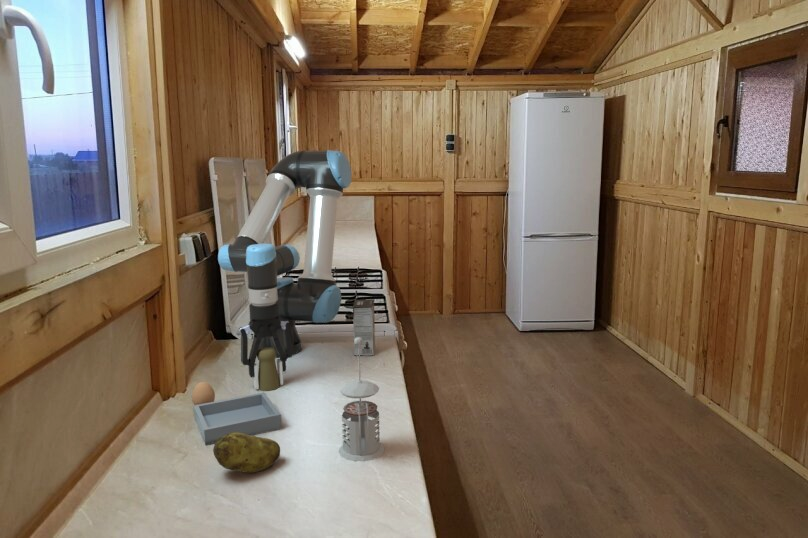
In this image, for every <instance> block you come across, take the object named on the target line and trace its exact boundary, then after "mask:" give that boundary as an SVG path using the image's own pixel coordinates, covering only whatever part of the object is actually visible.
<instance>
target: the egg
mask: <svg viewBox="0 0 808 538" xmlns="http://www.w3.org/2000/svg"><path fill="white" fill-rule="evenodd" d="M215 399H216V394H215V390H214V388H213V386H212V385H211V384H210V383H208V382H207V381H201V382H198V383H196V385H195V386H194V388H193V389H192V393H191V401H192V404H193V406H194V405H199V404H205V403H210V402H215Z"/></svg>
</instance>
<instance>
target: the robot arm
mask: <svg viewBox="0 0 808 538" xmlns="http://www.w3.org/2000/svg"><path fill="white" fill-rule="evenodd" d="M265 183H266V184H265V187H264V189H263V190H262V193H261V194H260V196H259V198H258V200H256V203H255V204H254V206H253V208H252V210H251V211H250V214H249V215H248V217H247V219H246V220H245V222H244V225H243V226H242V227H241V229H240V231H239V233H238V234H237V237H235V240H234V242H233V243H232V244H231V243H229V244H223V246H220V248H219V250H218V254H217V261H218V264H219V266H220V268H221V269H222V270H224V271H230V272H234V273H237V272H241V273H242V272H243V273H244V272H246V275H247V287H248V289H247V290H248V291H247V292H248V302H249V303H250V304H249V306H248V307H249V308H248V309H249V323H248V325H246V326H244V327H243V326H239V327H238V331H239V334H240V362H241V364H242V365H244V366H248V375H249V376H250V378H252V379H253V380H252V382H253V387H254V389H255V390H259V384H258V371H259V367H258V365H257V363H256V361H257V360H256V359H257V352H258V350H259V349H260V348H262V347H273V348H275V350H276V352H277V355H276V358H278V359H276V368H277V373H278V378H279V384H280V386H282V385H284V376H283V375H284V372H286V371H287V364H286V363H287V360H288V359H290V358H292V357H293V355H295V354H298V353H299V352H300V351H301V350H302V345H303V344H302V340H301V337H300V334H299V331H298V329H297V327H296V322H309V323H316V324H319V323H325V324H326V323H327V324H328V323H330V322H332V321H333V320H334V319H335V318H336V316H337V315H338V313H339V311H340V307H341V303H342V291H341V289H340V287H339V286H337V285H336V279H335V278H334V277H333V275H332V270H333V269H332V267H333V255H334V246H335V245H334V244H335V233H336V220H337V210H338V200H339V199H340V198H341V197H342V196H343V194H344V189H347V188H349V187H350V185H351V183H352V169H351V165H350V162H349V159H348V157H347V155H346V154H345V153H344V152H343V151H340V150H332V149H326V150H297V151H294V152H291V153H289V154H287V155H286V156H284V157H282V159H280V160H279V161H278V162H277V163H276V164H275V165H274V166H273V167H272V169H271V170H270V171H269V173H268V175H267V177H266V179H265ZM301 188H305V192H306V194H307V195H308V196H309V206H308V219H307V230H306V239H305V240H306V241H305V251H304V252H305V253H304V265H303V272H302V274H300V275H299V276H298V277H297V283H294V282H295V280H294V278H293V277H291V276H289V277H288V276H287V277H286V276H285V277H278V276H280V275H283V274H287V273H290V272H291V271H293V270H295V269H296V268H297V267H298V266H299V264H300V258H301V257H300V253H299V251H298V249H297V248H296V247H295V246H293V245H291V244H281V245H278V246H275V245H274V244H272V243H265V241H266V240H267V238H268V236H269V234H270V233H271V230H272V229H273V227H274V225H275V222H276V221H277V219H278V217H279V215H280V214H281V211H282V210H283V207H284V205H285V204H286V202H287V200H288V198H289V197H292V196H293V195H294V194H295V192H296V190H298V189H301ZM250 330H251V331H252V332H253V338H252V339H253V340H252V343H251V348H250V352H248V350H249V349H248V346H249V345H248V342H249V341H248V339H249V338H248V335H249V333H250ZM248 353H249V354H248ZM248 355H249V356H248Z"/></svg>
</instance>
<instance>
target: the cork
mask: <svg viewBox="0 0 808 538" xmlns="http://www.w3.org/2000/svg"><path fill="white" fill-rule="evenodd" d="M276 355H277V352H276V350H275V348H273V347H262V348H260V349H259V350H258V352H257V356H256V359H257V360H258V361H259V363H258V384H259V389H258V390H259V391H261V392H270V391H274V390H277V389H279V388H280V387H281V385H280V384H279V378H278V373H277V362H276V358H277V357H276Z"/></svg>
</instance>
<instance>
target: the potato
mask: <svg viewBox="0 0 808 538" xmlns="http://www.w3.org/2000/svg"><path fill="white" fill-rule="evenodd" d="M212 451H213V456H214V458H215V459H216V461H217V463H218V464H219V465H220V466H221V467H222V468H224V469H225V470H231V471H239V472H243V473H257V472H260V471H263V470H265V469H268V468H269V467H271V466H272V465H274V464H275V462H277V461H278V459H279V457H280V455H281V447H280V444H279V443H278V442H277V441H276V440H273V439H270V438H268V437H266V438H265V437H263V436H262V437H260V436H255V435H246V434H243V433H230V434H227V435H224V436H223V437H220V438H219V439H218V440H217V442H216V443H214V446H213V450H212Z"/></svg>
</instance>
